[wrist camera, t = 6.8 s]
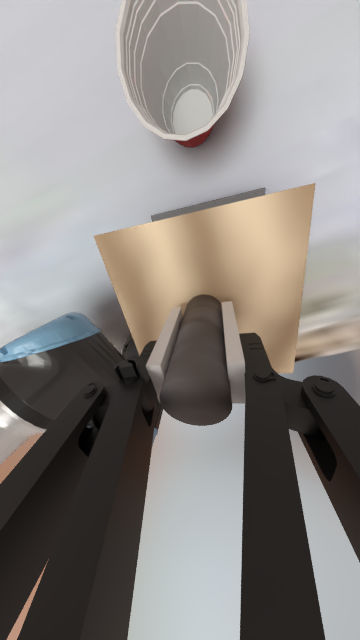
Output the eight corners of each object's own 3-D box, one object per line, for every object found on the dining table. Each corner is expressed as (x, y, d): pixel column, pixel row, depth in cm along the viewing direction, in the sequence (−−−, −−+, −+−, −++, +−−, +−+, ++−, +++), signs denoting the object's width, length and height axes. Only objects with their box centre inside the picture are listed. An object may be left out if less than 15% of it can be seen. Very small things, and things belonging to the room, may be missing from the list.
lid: (150, 370, 22) (109, 470, 13) (100, 234, 15) (-52, 260, 6) (289, 365, 18) (356, 497, 10) (307, 185, 11) (588, 95, 3)
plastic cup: (253, 103, 23) (284, 15, 13) (197, 186, 28) (187, 170, 18) (188, 24, 21) (163, -157, 11) (140, 129, 26) (93, 75, 16)
